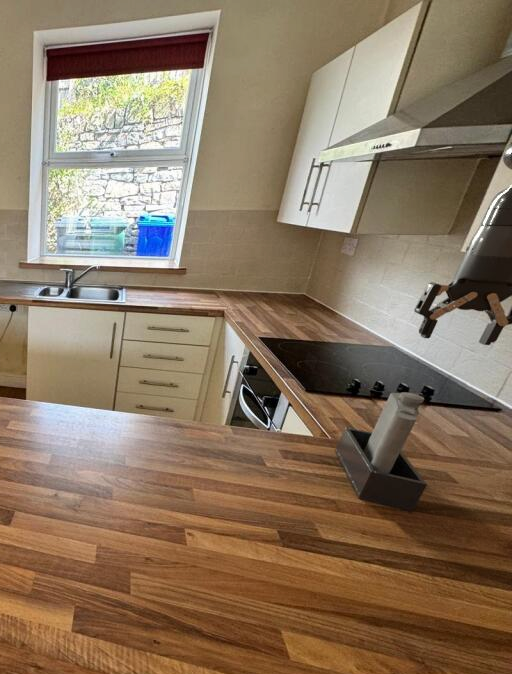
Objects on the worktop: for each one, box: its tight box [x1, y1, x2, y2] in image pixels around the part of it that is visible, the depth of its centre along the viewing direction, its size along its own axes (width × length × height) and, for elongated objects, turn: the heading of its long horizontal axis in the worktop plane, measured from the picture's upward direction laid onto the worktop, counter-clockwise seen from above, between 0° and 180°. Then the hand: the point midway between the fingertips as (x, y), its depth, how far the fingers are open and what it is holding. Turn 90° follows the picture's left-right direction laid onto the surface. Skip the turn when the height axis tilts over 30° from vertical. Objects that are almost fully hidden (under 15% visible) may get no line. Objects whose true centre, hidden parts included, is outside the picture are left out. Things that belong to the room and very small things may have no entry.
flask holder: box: [334, 426, 428, 513], centre depth 89 cm, size 9×21×7 cm, turn 153°
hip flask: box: [364, 391, 425, 474], centre depth 86 cm, size 16×4×20 cm, turn 141°
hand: (453, 340), depth 78 cm, fingers open, 8 cm apart
